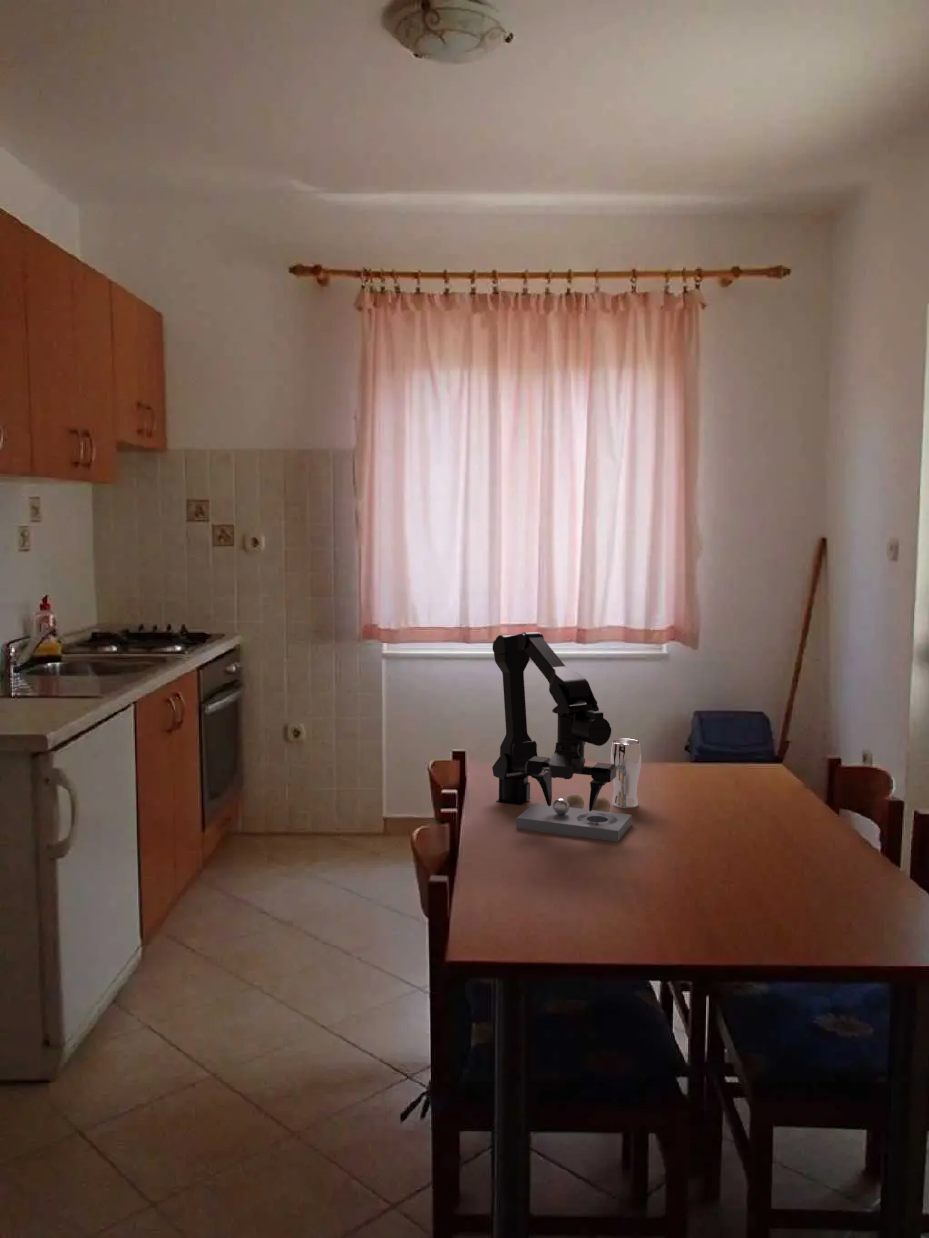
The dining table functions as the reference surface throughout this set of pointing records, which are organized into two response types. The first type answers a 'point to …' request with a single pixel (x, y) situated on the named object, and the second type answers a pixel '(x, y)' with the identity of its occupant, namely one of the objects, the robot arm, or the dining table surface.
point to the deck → (575, 822)
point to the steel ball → (561, 806)
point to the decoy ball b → (602, 804)
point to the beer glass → (626, 771)
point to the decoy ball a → (575, 800)
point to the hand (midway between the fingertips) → (569, 808)
